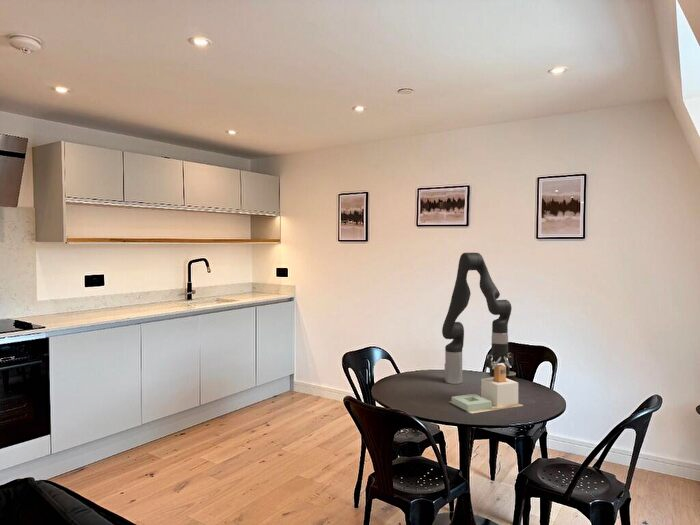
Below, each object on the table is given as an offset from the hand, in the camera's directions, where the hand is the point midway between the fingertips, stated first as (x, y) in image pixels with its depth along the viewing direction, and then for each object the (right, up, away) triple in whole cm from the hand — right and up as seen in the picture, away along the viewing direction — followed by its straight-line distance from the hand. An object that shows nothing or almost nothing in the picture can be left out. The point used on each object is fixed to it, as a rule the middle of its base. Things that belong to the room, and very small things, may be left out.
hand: (499, 375), depth 228 cm
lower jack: (-15, -13, -5) cm, 20 cm away
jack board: (-7, -14, -3) cm, 16 cm away
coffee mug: (+8, -13, +19) cm, 24 cm away
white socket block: (0, -12, 0) cm, 12 cm away
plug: (0, -5, 0) cm, 5 cm away
